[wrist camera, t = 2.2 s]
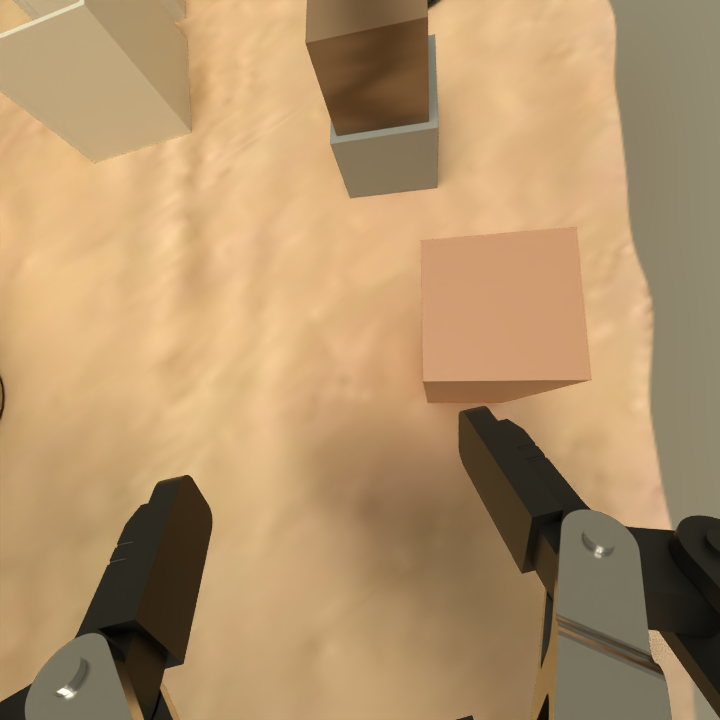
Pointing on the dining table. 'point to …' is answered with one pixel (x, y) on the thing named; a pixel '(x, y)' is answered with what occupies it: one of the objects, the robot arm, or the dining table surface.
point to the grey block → (392, 151)
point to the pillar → (502, 316)
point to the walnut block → (370, 61)
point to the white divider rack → (101, 72)
